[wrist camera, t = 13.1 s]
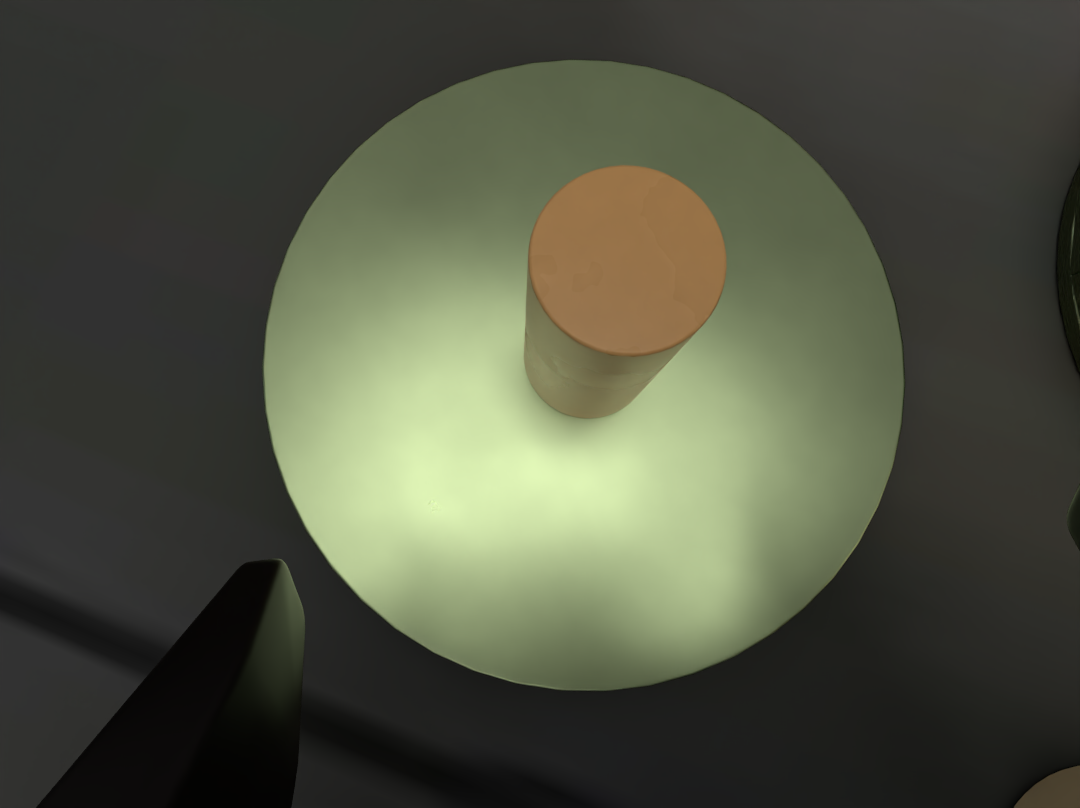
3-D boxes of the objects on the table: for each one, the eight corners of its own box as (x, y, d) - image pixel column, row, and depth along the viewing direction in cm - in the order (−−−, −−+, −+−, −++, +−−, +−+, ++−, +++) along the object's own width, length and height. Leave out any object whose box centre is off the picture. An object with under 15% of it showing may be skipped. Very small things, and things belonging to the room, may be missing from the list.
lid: (990, 513, 17) (1321, 505, 10) (428, 795, 16) (358, 1008, 9) (714, 2, 19) (833, -312, 12) (185, 222, 18) (-36, 20, 10)
